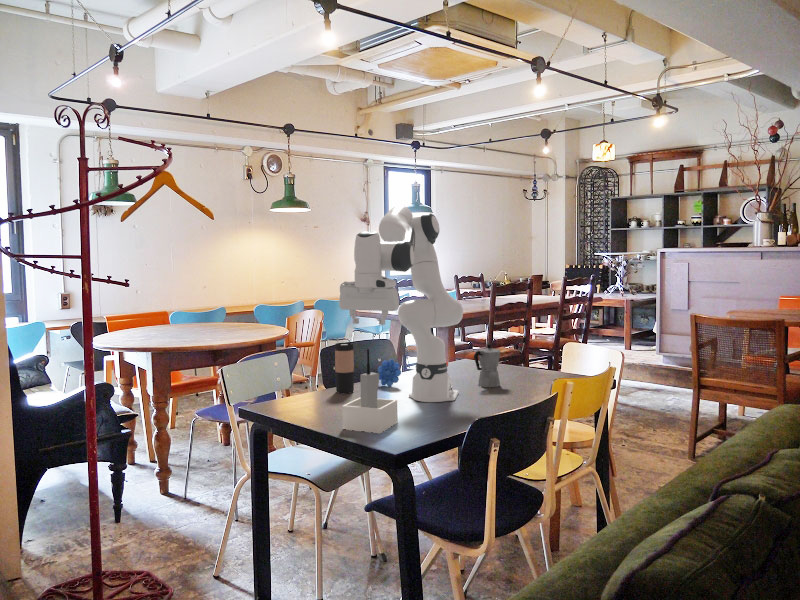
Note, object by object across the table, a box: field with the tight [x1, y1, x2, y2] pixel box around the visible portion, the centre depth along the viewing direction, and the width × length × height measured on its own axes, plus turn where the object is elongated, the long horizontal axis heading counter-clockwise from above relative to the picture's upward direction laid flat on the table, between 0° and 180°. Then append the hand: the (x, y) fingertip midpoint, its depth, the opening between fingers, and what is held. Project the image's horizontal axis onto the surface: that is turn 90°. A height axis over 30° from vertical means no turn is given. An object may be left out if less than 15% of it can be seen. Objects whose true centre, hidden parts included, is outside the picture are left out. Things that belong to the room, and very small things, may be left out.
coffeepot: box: [473, 343, 501, 389], centre depth 276 cm, size 15×9×18 cm, turn 129°
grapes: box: [377, 358, 402, 387], centre depth 279 cm, size 12×7×12 cm, turn 61°
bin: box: [341, 396, 398, 434], centre depth 214 cm, size 14×14×8 cm
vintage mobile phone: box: [360, 348, 380, 408], centre depth 213 cm, size 4×5×25 cm
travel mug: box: [334, 342, 355, 394], centre depth 268 cm, size 8×8×20 cm
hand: (368, 324), depth 212 cm, fingers open, 8 cm apart
